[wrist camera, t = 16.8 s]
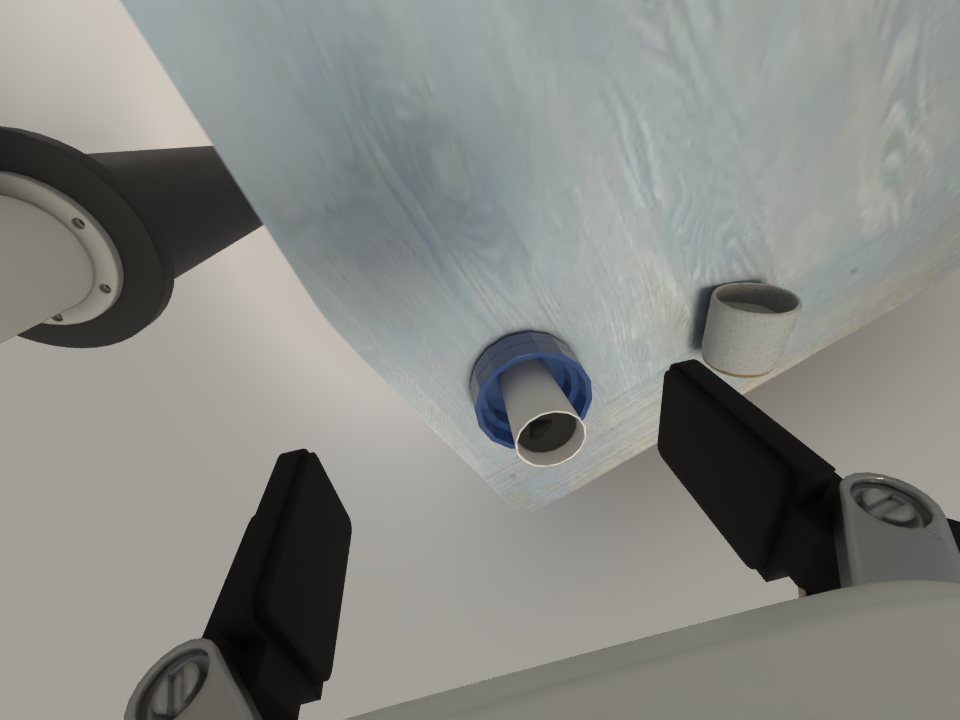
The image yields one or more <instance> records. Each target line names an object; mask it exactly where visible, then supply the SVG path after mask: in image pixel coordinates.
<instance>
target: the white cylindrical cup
mask: <svg viewBox="0 0 960 720" xmlns="http://www.w3.org/2000/svg"><path fill="white" fill-rule="evenodd" d="M500 386H501V391H502V395H503V399H504V403H505V407H506V411H507V415H508V419H509V423H510V427H511V431H512V435H513V439H514V443H515V447H516V451H517V454H518V455H519V456H520V457H521V459H522V460H523V461H524V462H526V463H529V464H531V465H533V466H541V467H549V466H553V465H558V464H561V463H563V462H565V461H566V460H568V459H570V458H572V457H573V456H574V455H575V454H576V453H577V452H578V451H579V450H580V449H581V448H582V445H583V443H584V441H585V439H586V427H585V425H584V423H583V422H582V420H581V419H580V417H579V416H578V414H577V413H576V411H575V410H574V408H573V407H572V405H571V404H570V402H569V401H568V399H567V398H566V396H565V395H564V393H563V392H562V390H561V388H560V387H559V385H558V384H557V382H556V381H555V379H554V378H553V376H552V375H551V373H550V372H549V370H548V369H547V367H546V366H545V364H544V363H542V362H540V361H538V360H536V359H528V360H524V361H520V362H517V363H515V364H513V365H512V366H510V367H509V368H507V369H505V371H504V372H503V373H502V376H501V379H500Z"/></svg>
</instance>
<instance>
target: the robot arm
mask: <svg viewBox="0 0 960 720" xmlns="http://www.w3.org/2000/svg"><path fill="white" fill-rule="evenodd" d="M123 282H124V272H123V265H122V261H121V258H120V256H119V253H118V250H117V248H116V246H115V244H114V243H113V241H112V239H111V238H110V236H109V234H108V233H107V232H106V231H105V229H104V228H103V227H102V226H101V224H100V223H99V222H98V221H97V220H96V219H95V218H94V217H93V216H92V215H91V214H90V213H89V212H88V211H87V210H86V209H85V208H84V207H83V206H81V205H80V204H78V203H77V202H76V201H74V200H73V199H72V198H70V197H69V196H68V195H66V194H64V193H63V192H61V191H59V190H57V189H55V188H54V187H52V186H50V185H48V184H46V183H43V182H41V181H39V180H36V179H34V178H31V177H29V176H25V175H21V174H17V173H13V172H9V171H0V343H2V342H4V341H6V340H8V339H10V338H12V337H14V336H16V335H18V334H20V333H22V332H24V331H26V330H28V329H30V328H32V327H34V326H36V325H38V324H39V323H46V324H56V325H69V324H77V323H82V322H85V321H88V320H92V319H94V318H95V317H97V316H99V315H101V314H103V313H104V312H106V311H107V310H108V309H110V308H111V307H112V306H113V305H114V304H115V302H116V301H117V300H118V298H119V297H120V294H121V291H122V288H123ZM658 450H659V453H660V455H661V457H662V458H663V460H664V461H665V462H666V463H667V465H668V466H669V467H670V469H671V470H672V471H673V472H674V474H675V475H676V476H677V478H678V479H679V480H680V481H681V483H682V484H683V485H684V487H685V488H686V489H687V490H688V492H689V493H690V494H691V495H692V497H693V498H694V499H695V500H696V502H697V503H698V504H699V506H700V507H701V508H702V510H703V511H704V512H705V513H706V515H707V516H708V517H709V519H710V520H711V521H712V522H713V524H714V525H715V526H716V527H717V529H718V530H719V531H720V533H721V534H722V535H723V536H724V538H725V539H726V540H727V542H728V543H729V544H730V545H731V547H732V548H733V549H734V551H735V552H736V553H737V554H738V556H739V557H740V558H741V560H742V561H743V562H744V563H745V564H746V565H747V566H748V567H749V568H751V569H756V570H757V571H758V572H759V574H760V575H761V576H762V577H763V579H764V580H765V581H766V582H769V581H773V580H776V579H780V578H784V577H788V576H789V577H790V578H791V579H792V580H793V581H794V583H795V584H796V585H797V586H798V593H799V598H798V599H794V600H790V601H785V602H781V603H777V604H773V605H769V606H764V607H761V608H757V609H753V610H749V611H745V612H741V613H738V614H734V615H730V616H726V617H722V618H718V619H714V620H711V621H707V622H703V623H699V624H696V625H691V626H688V627H684V628H680V629H676V630H672V631H668V632H665V633H661V634H657V635H653V636H650V637H645V638H642V639H638V640H634V641H630V642H627V643H623V644H619V645H615V646H612V647H608V648H604V649H600V650H597V651H593V652H589V653H585V654H581V655H578V656H574V657H570V658H566V659H563V660H559V661H556V662H551V663H548V664H544V665H540V666H536V667H533V668H529V669H525V670H522V671H518V672H514V673H510V674H507V675H503V676H499V677H496V678H492V679H488V680H485V681H481V682H477V683H473V684H470V685H466V686H462V687H459V688H455V689H451V690H448V691H444V692H441V693H437V694H433V695H430V696H426V697H422V698H419V699H415V700H412V701H408V702H404V703H400V704H397V705H393V706H389V707H385V708H382V709H378V710H375V711H372V712H368V713H365V714H361V715H358V716H355V717H351V718H348V719H344V720H960V522H958V521H955V520H952V519H948V518H946V516H945V515H944V513H943V511H942V510H941V508H940V507H939V505H938V504H937V503H936V502H935V501H934V500H932V499H931V498H930V497H929V496H928V495H927V494H925V493H924V492H922V491H920V490H919V489H917V488H916V487H914V486H912V485H910V484H908V483H905V482H903V481H901V480H899V479H896V478H892V477H888V476H885V475H882V474H875V473H854V474H851V475H849V476H846V477H845V478H844V479H842V478H841V477H840V476H839V475H837V474H836V473H835V472H834V471H835V468H834V467H833V466H831V465H830V464H829V463H827V462H826V461H825V460H824V459H822V458H821V457H820V456H819V455H817V454H816V453H815V452H814V451H812V450H811V449H810V448H808V447H807V446H806V445H805V444H803V443H802V442H801V441H800V440H798V439H797V438H796V437H794V436H793V435H792V434H791V433H789V432H788V431H787V430H785V429H784V428H783V427H782V426H780V425H779V424H778V423H777V422H775V421H774V420H773V419H772V418H770V417H769V416H768V415H766V414H765V413H764V412H763V411H761V410H760V409H759V408H758V407H756V406H755V405H754V404H753V403H751V402H750V401H749V400H747V399H746V398H745V397H744V396H742V395H741V394H740V393H739V392H737V391H736V390H735V389H733V388H732V387H731V386H730V385H728V384H727V383H726V382H725V381H723V380H722V379H721V378H719V377H718V376H717V375H716V374H714V373H713V372H712V371H711V370H709V369H708V368H707V367H705V366H704V365H703V364H702V363H700V362H699V361H697V360H695V359H692V360H688V361H683V362H679V363H674V364H672V365H671V366H670V369H669V370H668V371H666V372H665V375H664V383H663V393H662V403H661V413H660V424H659V434H658ZM351 531H352V527H351V521H350V518H349V516H348V514H347V512H346V510H345V509H344V506H343V505H342V503H341V501H340V499H339V497H338V495H337V493H336V491H335V489H334V487H333V485H332V484H331V482H330V480H329V478H328V476H327V474H326V472H325V470H324V468H323V466H322V464H321V462H320V460H319V458H318V457H317V455H316V454H315V453H314V452H312V453H309V452H308V451H307V450H306V449H300V450H295V451H291V452H287V453H282V454H281V455H280V456H279V457H278V459H277V462H276V464H275V467H274V469H273V472H272V474H271V477H270V479H269V482H268V484H267V487H266V489H265V492H264V494H263V497H262V499H261V502H260V504H259V507H258V509H257V512H256V514H255V515H254V516H253V517H252V518H251V520H250V522H249V524H248V526H247V529H246V531H245V534H244V536H243V538H242V541H241V543H240V546H239V548H238V551H237V553H236V556H235V558H234V560H233V563H232V565H231V568H230V570H229V573H228V575H227V578H226V580H225V583H224V585H223V587H222V590H221V592H220V595H219V597H218V600H217V602H216V604H215V607H214V610H213V612H212V614H211V617H210V619H209V622H208V624H207V626H206V629H205V631H204V634H203V636H202V638H199V639H193V640H190V641H187V642H185V643H183V644H181V645H179V646H176V647H175V648H174V649H172V650H171V651H170V652H168V653H167V654H165V655H164V656H163V657H162V658H160V660H159V661H157V663H155V665H153V666H152V667H151V668H150V669H149V671H148V672H147V673H146V674H145V676H144V677H143V678H142V680H141V681H140V682H139V683H138V685H137V687H136V688H135V690H134V692H133V694H132V696H131V698H130V699H129V702H128V705H127V708H126V711H125V714H124V720H298V715H299V710H300V705H301V704H305V703H309V702H313V701H317V700H320V699H321V695H322V688H323V682H324V681H327V680H329V678H330V676H331V672H332V667H333V660H334V653H335V646H336V639H337V632H338V625H339V618H340V611H341V604H342V596H343V590H344V582H345V576H346V569H347V561H348V555H349V547H350V540H351V533H352V532H351Z"/></svg>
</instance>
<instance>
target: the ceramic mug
mask: <svg viewBox="0 0 960 720" xmlns="http://www.w3.org/2000/svg"><path fill="white" fill-rule="evenodd" d="M801 308H802V301H801V299H800V298H799V297H798V296H797V295H795V294H794V293H792V292H791V291H788V290H785V289H783V288H780V287H776V286H773V285H767V284H761V283H751V282H742V283H731V284H726V285H722V286H720V287H717V288H716V289H715V290H714V291H713V293H712V295H711V301H710V306H709V310H708V315H707V320H706V326H705V332H704V335H703V340H702V357H703V359H704V361H705V362H706V363H707V364H708V365H709V366H710V367H711V368H713V369H714V370H716V371H718V372H720V373H723V374H726V375H729V376H733V377H740V378H754V377H759V376H763V375H765V374H767V373H769V372H770V371H771V370H772V369H773V368H774V367H775V365H776V364H777V362H778V361H779V359H780V357H781V355H782V353H783V350H784V348H785V345H786V342H787V340H788V338H789V336H790V334H791V331H792V329H793V327H794V325H795V323H796V320H797V318H798V316H799V314H800V312H801Z"/></svg>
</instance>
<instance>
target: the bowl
mask: <svg viewBox="0 0 960 720" xmlns="http://www.w3.org/2000/svg"><path fill="white" fill-rule="evenodd" d="M528 359H536V360H538V361H540V362H542V363H544V364H545V366H546V367H547V369H548V370H549V372H550V373H551V375H552V376H553V378H554V379H555V381H556V382H557V384H558V385H559V387H560V388H561V390H562V392H563V393H564V395H565V396H566V398H567V399H568V401H569V402H570V404H571V405H572V407H573V408H574V410H575V411H576V413H577V414H578V416H579V417H580V419H581V420H583V419H584V418H585V416H586V413H587V411H588V408H589V406H590V403H591V401H592V391H591V380H590V379H589V377H588V375H587V374H586V372H585V370H584V369H583V367H582V366H581V364H580V363H579V361H578V360H577V359H576V357H575V356H574V354H573V353H572V351H571V350H570V349H569V347H568V346H567V345H566V344H565V343H563V342H561V341H560V340H558V339H556V338H555V337H553V336H551V335H548V334H540V333H533V332H526V333H522V334H518V335H513V336H509V337H506V338H504V339H502V340H501V341H499V342H498V343H496V344H495V345H493V346H492V347H490V348H489V349H487V350H486V351H485V353H484V354H483V355H482V357H481V358H480V359H479V361H478V362H477V364H476V365H475V366H474V370H473V374H472V378H471V383H470V389H471V394H472V398H473V403H474V408H475V412H476V416H477V420H478V424H479V427H480V428H481V429H482V430H483V432H484V433H485V434H486V435H487V436H488V437H489V438H490V439H491V440H492V441H494V442H496V443H498V444H501V445H503V446H505V447H508V448H511V449H516V447H515V443H514V439H513V435H512V431H511V427H510V423H509V419H508V415H507V411H506V407H505V403H504V399H503V395H502V391H501V386H500V379H501V376H502V373H503V372H504V371H505V369H507V368H509V367H510V366H512V365H513V364H515V363H517V362H520V361H524V360H528Z"/></svg>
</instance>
